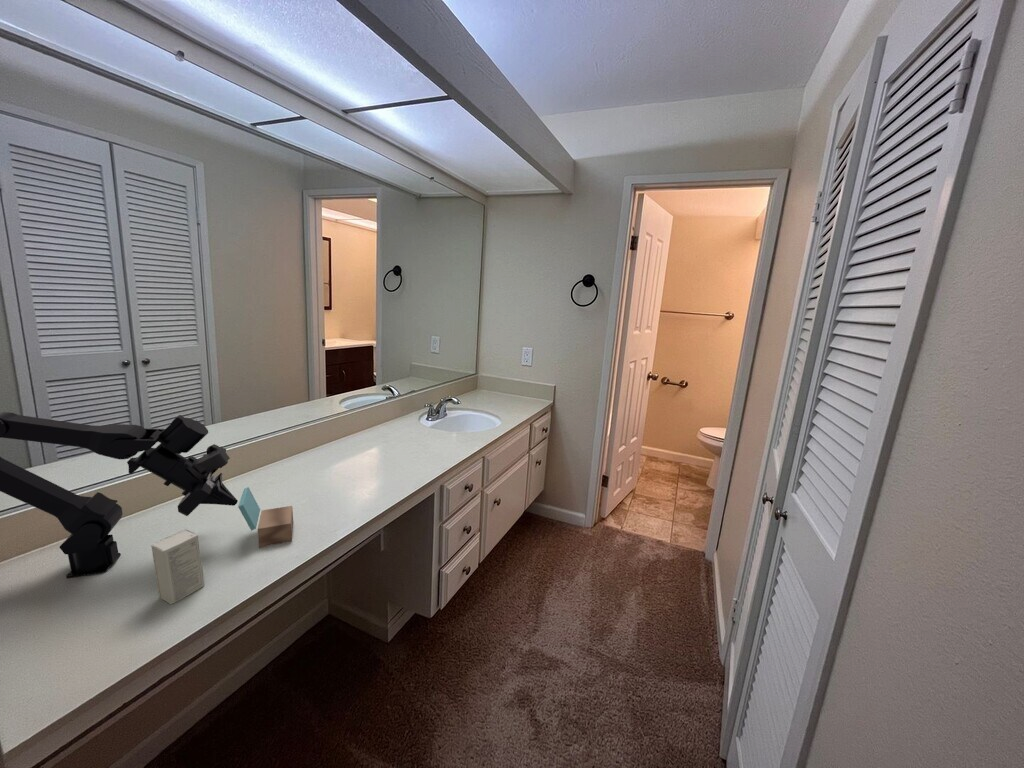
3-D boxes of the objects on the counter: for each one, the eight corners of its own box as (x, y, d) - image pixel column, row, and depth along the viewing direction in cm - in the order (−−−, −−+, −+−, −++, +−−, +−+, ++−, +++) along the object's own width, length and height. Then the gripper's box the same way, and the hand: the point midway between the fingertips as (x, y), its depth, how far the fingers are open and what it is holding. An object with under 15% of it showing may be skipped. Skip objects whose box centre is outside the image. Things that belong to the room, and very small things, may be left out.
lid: (255, 528, 96) (251, 530, 96) (260, 509, 104) (256, 511, 104) (242, 504, 94) (238, 506, 94) (248, 486, 102) (244, 488, 102)
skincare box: (192, 579, 86) (186, 527, 84) (205, 586, 84) (199, 534, 82) (157, 598, 81) (149, 544, 78) (170, 606, 79) (162, 550, 76)
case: (259, 547, 98) (257, 528, 97) (262, 527, 106) (261, 510, 104) (291, 541, 101) (290, 523, 100) (293, 522, 109) (292, 505, 108)
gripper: (190, 455, 83) (257, 495, 91) (210, 427, 100) (265, 463, 107) (146, 497, 82) (218, 534, 89) (173, 461, 98) (232, 495, 105)
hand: (236, 503), depth 97 cm, fingers closed
